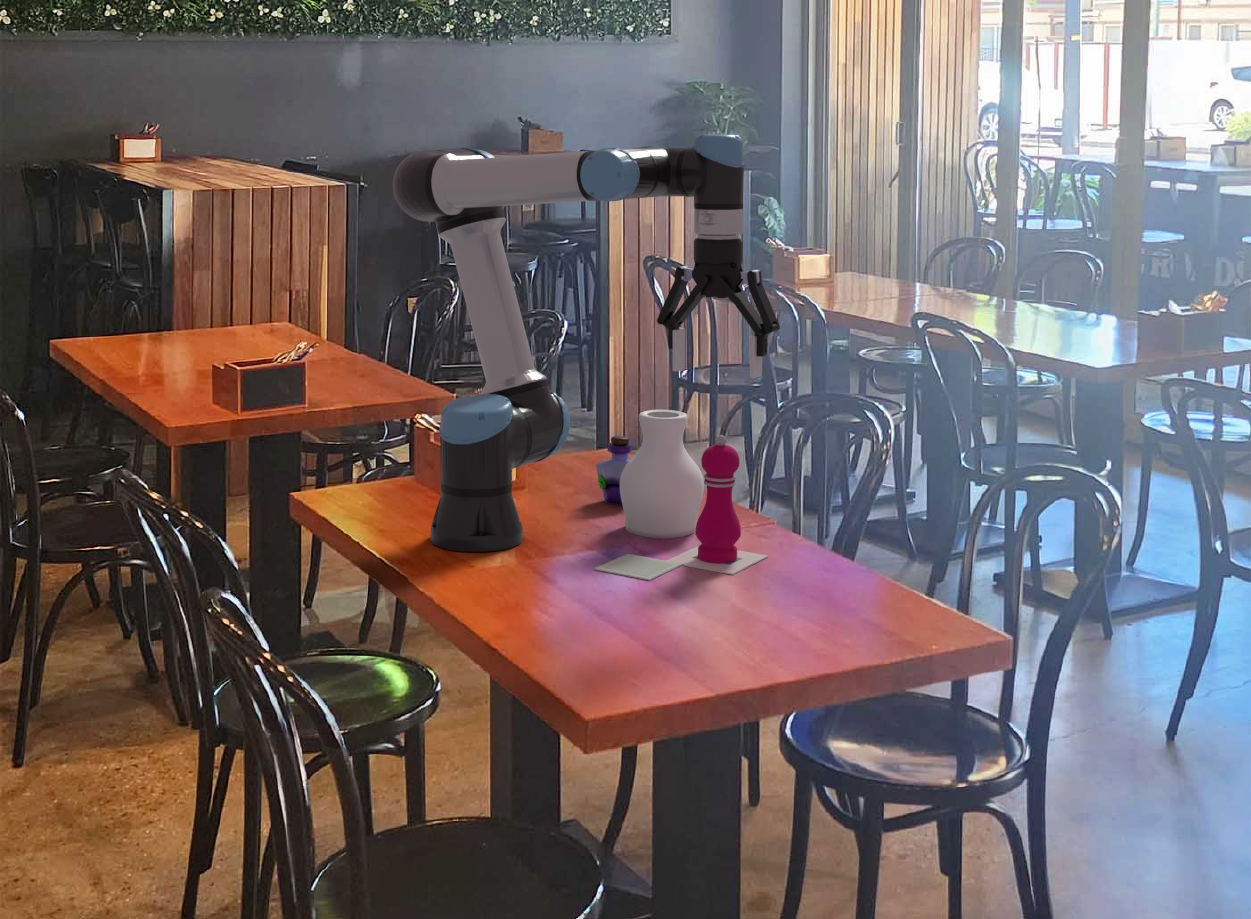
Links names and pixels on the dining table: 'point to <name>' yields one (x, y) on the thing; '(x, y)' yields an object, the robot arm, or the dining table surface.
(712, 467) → the pepper mill
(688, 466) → the vase
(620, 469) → the potion bottle
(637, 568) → the coaster
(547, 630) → the dining table surface
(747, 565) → the tile
